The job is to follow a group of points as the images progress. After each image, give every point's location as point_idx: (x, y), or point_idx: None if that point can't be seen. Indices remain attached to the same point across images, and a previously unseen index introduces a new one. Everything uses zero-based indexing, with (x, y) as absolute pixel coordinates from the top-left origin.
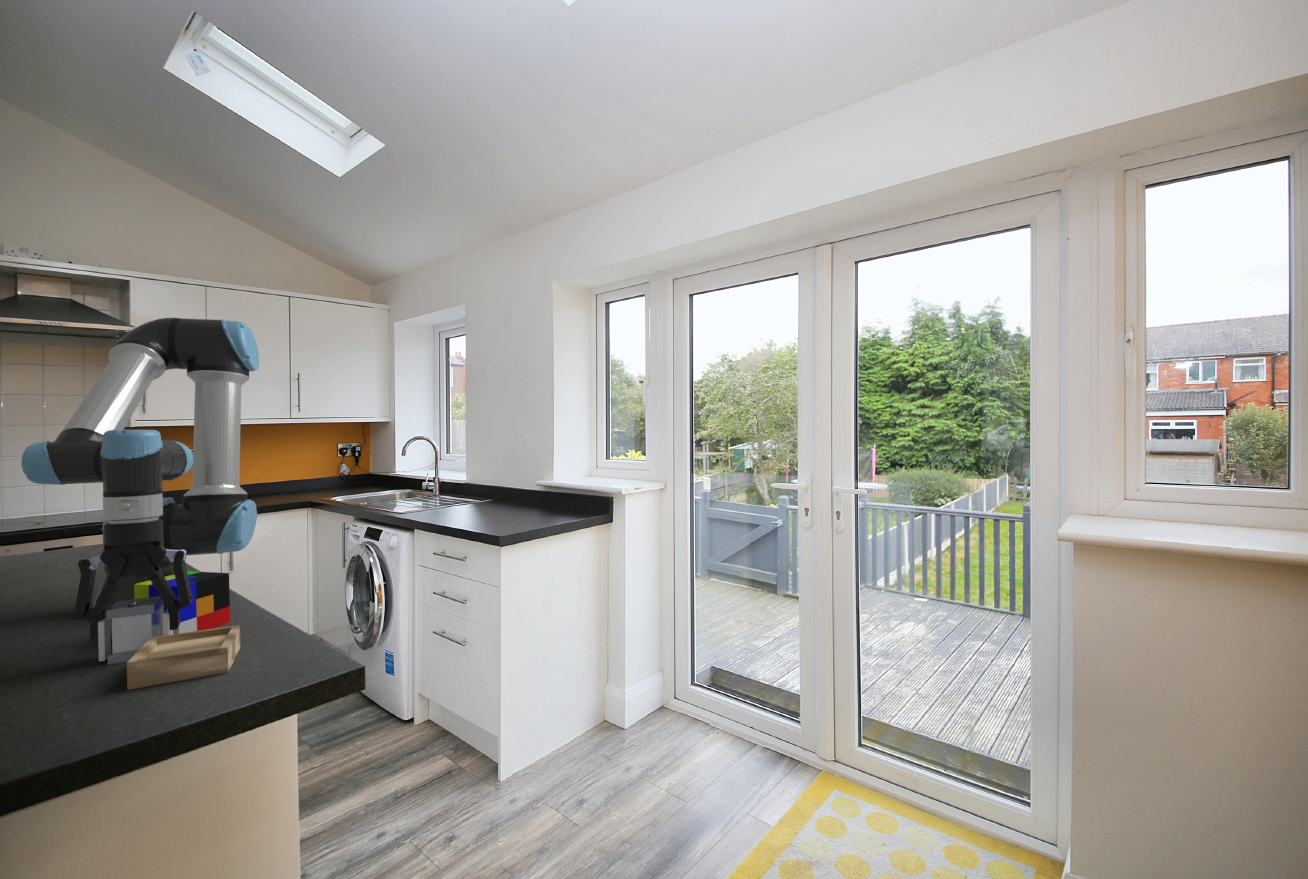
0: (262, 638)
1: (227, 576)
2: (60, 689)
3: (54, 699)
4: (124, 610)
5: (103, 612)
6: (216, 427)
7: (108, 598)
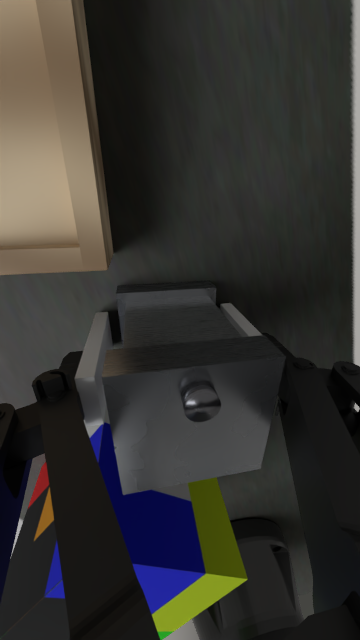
0: None
1: None
2: (270, 120)
3: (271, 9)
4: (218, 355)
5: (284, 405)
6: None
7: (307, 430)
